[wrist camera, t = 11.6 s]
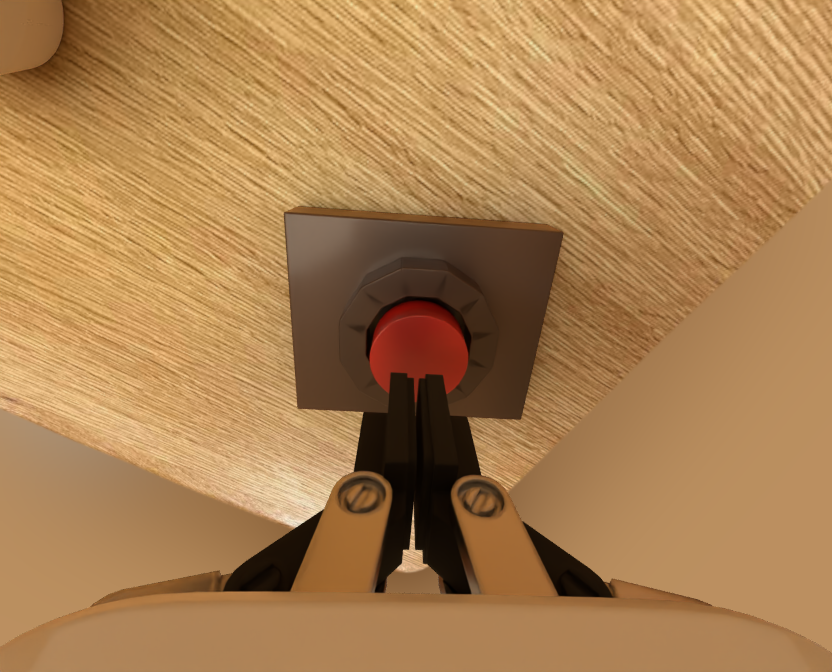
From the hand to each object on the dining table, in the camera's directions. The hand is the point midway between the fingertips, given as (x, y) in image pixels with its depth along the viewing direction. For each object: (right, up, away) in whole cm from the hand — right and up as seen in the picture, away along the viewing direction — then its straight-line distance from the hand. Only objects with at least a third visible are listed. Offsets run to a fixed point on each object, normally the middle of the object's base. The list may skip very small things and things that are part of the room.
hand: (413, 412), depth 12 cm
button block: (0, +4, +8) cm, 9 cm away
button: (0, +2, +5) cm, 5 cm away
